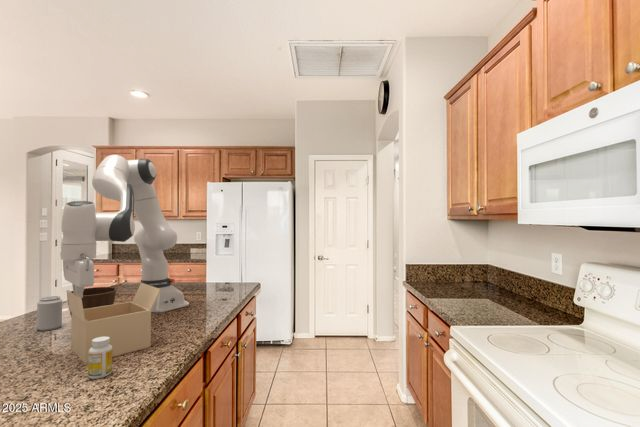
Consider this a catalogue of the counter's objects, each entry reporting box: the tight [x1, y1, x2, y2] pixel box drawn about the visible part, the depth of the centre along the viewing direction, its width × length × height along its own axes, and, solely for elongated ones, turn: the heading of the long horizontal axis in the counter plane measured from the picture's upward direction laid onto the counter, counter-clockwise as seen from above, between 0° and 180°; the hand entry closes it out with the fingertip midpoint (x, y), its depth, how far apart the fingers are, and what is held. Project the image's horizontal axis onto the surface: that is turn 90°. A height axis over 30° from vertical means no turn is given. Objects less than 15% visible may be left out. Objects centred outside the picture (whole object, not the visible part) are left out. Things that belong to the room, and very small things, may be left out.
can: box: [36, 295, 63, 332], centre depth 129 cm, size 8×8×12 cm
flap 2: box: [132, 282, 161, 310], centre depth 117 cm, size 7×17×1 cm
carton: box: [70, 300, 152, 365], centre depth 109 cm, size 18×18×12 cm
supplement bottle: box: [87, 336, 113, 380], centre depth 89 cm, size 5×5×10 cm
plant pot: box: [66, 286, 117, 319], centre depth 121 cm, size 15×15×16 cm
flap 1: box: [66, 289, 85, 322], centre depth 102 cm, size 7×17×1 cm
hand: (78, 298), depth 102 cm, fingers closed, pressing on flap 1
